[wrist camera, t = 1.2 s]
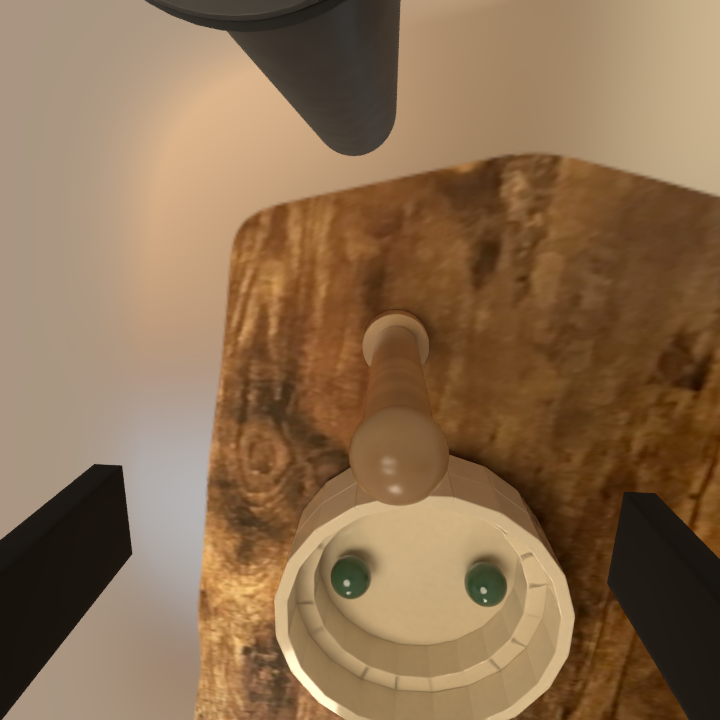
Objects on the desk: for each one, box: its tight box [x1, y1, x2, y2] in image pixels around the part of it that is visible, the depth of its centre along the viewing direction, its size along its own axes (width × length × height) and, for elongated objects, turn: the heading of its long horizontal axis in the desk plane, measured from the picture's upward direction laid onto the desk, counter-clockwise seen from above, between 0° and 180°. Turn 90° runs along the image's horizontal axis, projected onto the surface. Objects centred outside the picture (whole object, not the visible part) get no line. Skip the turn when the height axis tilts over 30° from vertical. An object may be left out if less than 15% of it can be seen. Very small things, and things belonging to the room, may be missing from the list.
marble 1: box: [330, 554, 372, 599], centre depth 33 cm, size 3×3×3 cm
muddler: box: [349, 310, 449, 506], centre depth 23 cm, size 4×4×17 cm
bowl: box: [274, 455, 575, 720], centre depth 32 cm, size 18×18×6 cm
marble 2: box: [464, 561, 507, 607], centre depth 33 cm, size 3×3×3 cm
